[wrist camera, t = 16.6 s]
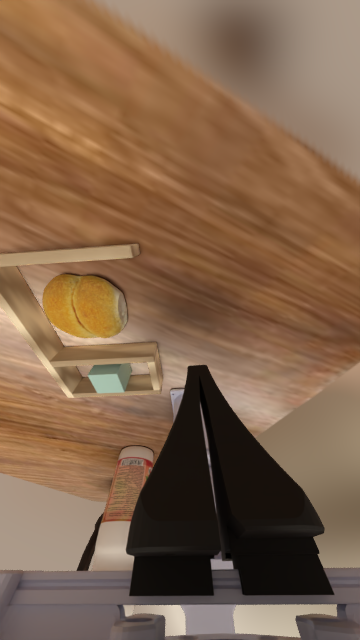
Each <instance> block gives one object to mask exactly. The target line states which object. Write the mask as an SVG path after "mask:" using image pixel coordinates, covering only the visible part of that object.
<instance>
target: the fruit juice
mask: <svg viewBox="0 0 360 640" xmlns="http://www.w3.org/2000/svg"><path fill="white" fill-rule="evenodd" d="M152 467H153V452H152V450H150V449H148V448H146V447H142V446H129V447H126V448H124V449H122V451H121V453H120V455H119V459H118V462H117V466H116V470H115V473H114V477H113V481H112V484H111V488H110V492H109V496H108V499H107V503H106V507H105V510H104V514H103V518H102V521H101V525H100V528H99V532H98V536H97V541H96V546H95V559H94V564H93V568H92V570H91V571H124V570H133V563H134V556H132V555H128V554H127V553H126V545H127V539H128V533H129V527H130V523H131V519H132V515H133V512H134V509H135V506H136V503H137V500H138V497H139V494H140V492H141V490H142V488H143V486H144V484H145V482H146V480H147V478H148V476H149V475H150V473H151V471H152ZM123 606H124V609H125V616H126V617H127V616H130V615H132V614H133V611H134V608H135V605H123Z"/></svg>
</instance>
